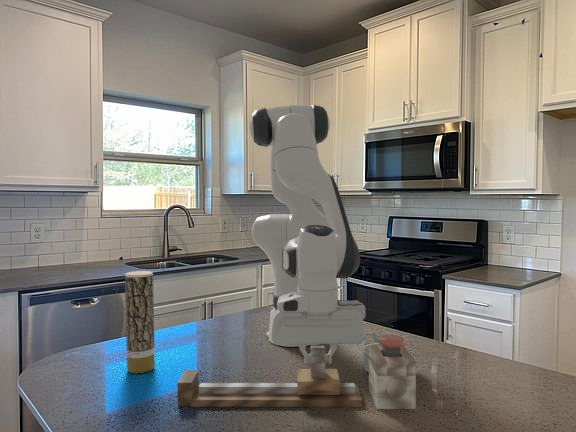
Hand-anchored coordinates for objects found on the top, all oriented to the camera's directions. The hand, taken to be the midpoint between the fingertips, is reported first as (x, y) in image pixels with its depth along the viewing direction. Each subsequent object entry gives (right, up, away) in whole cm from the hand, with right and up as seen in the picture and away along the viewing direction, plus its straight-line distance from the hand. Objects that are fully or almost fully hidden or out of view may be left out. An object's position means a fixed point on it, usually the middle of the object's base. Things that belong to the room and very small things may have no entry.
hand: (317, 362), depth 98 cm
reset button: (+16, +1, 0) cm, 16 cm away
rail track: (-5, -8, 0) cm, 9 cm away
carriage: (0, -6, 0) cm, 6 cm away
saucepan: (+18, -7, +19) cm, 27 cm away
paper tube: (-44, -8, +17) cm, 48 cm away
